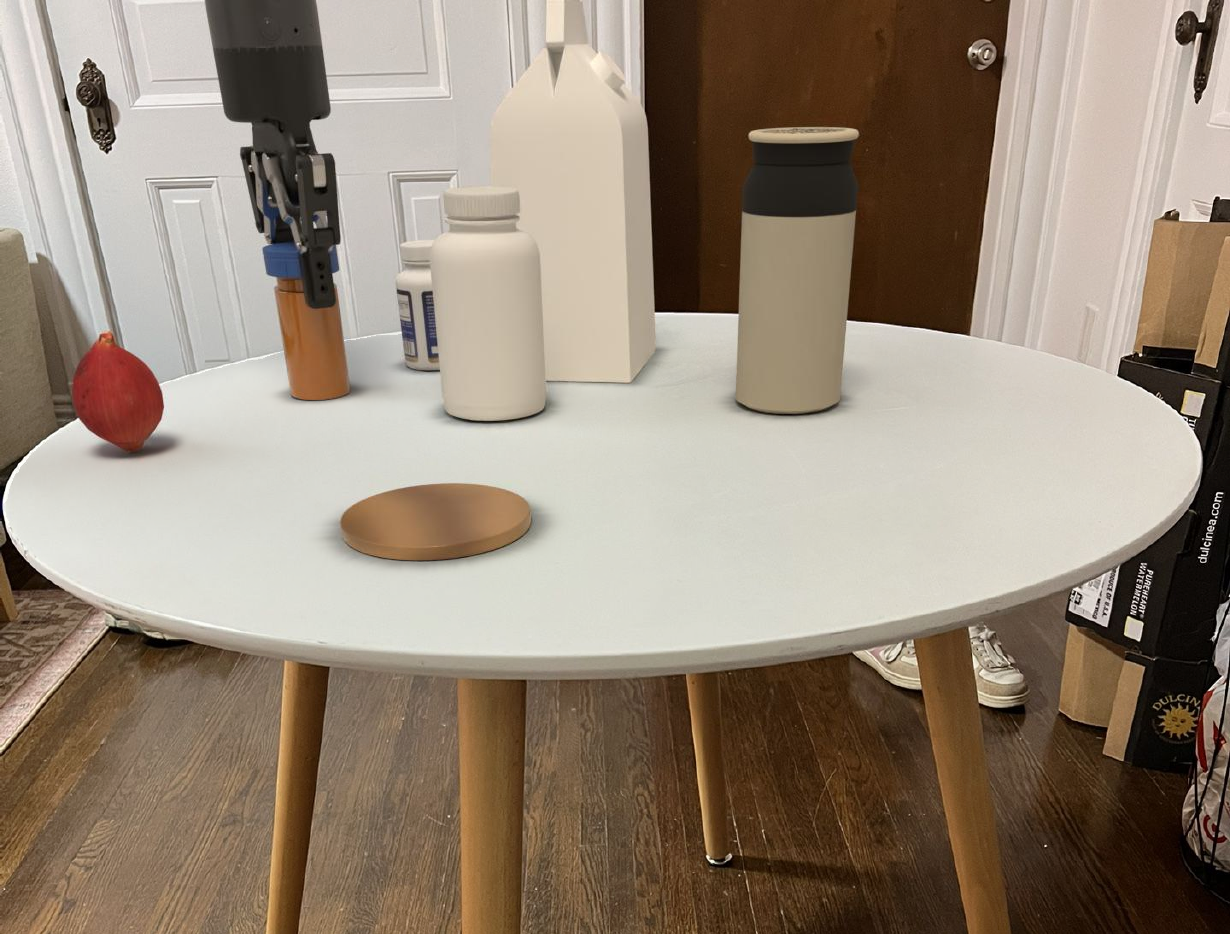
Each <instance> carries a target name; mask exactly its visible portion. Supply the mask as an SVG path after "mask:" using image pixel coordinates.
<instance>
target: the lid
mask: <svg viewBox="0 0 1230 934" xmlns="http://www.w3.org/2000/svg"><path fill="white" fill-rule="evenodd" d="M261 250H262V255H263V261H264V268H265V274H266V275H267V276H269V277H274V278H276V277H279V278H302V277H301V271H300V264H299V258H298V255H300V254H299V253H298V251H297V249H296V244H295V242H284V243H277V244H270V245H269V244H267V245H265V246H263V247H262V249H261ZM328 253H329V254H330V261H331V268H332V275H333V274H336V273H337V272H339V271H340V263H339V256H338V249H337V245H333V250H332V252H328Z"/></svg>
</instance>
